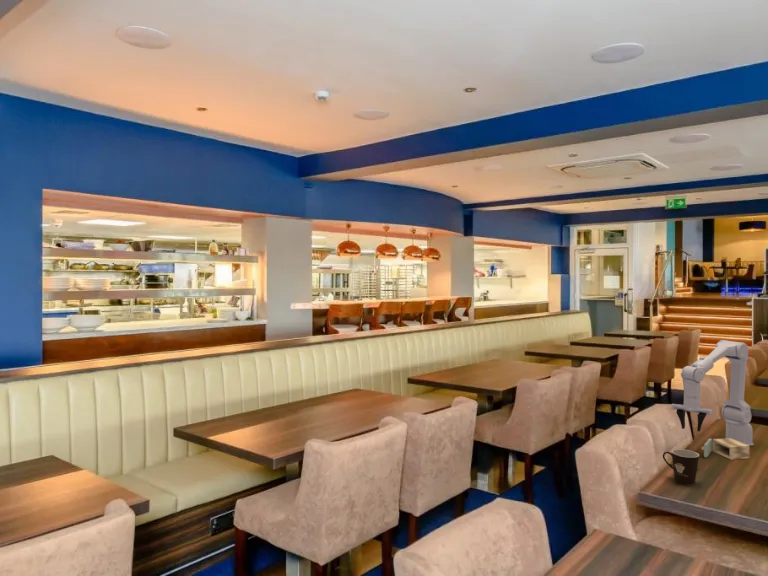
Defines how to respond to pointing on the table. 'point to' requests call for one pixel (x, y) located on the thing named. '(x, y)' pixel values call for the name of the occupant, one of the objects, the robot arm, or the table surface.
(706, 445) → the door
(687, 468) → the coffee mug
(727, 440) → the cabinet
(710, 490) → the table surface
